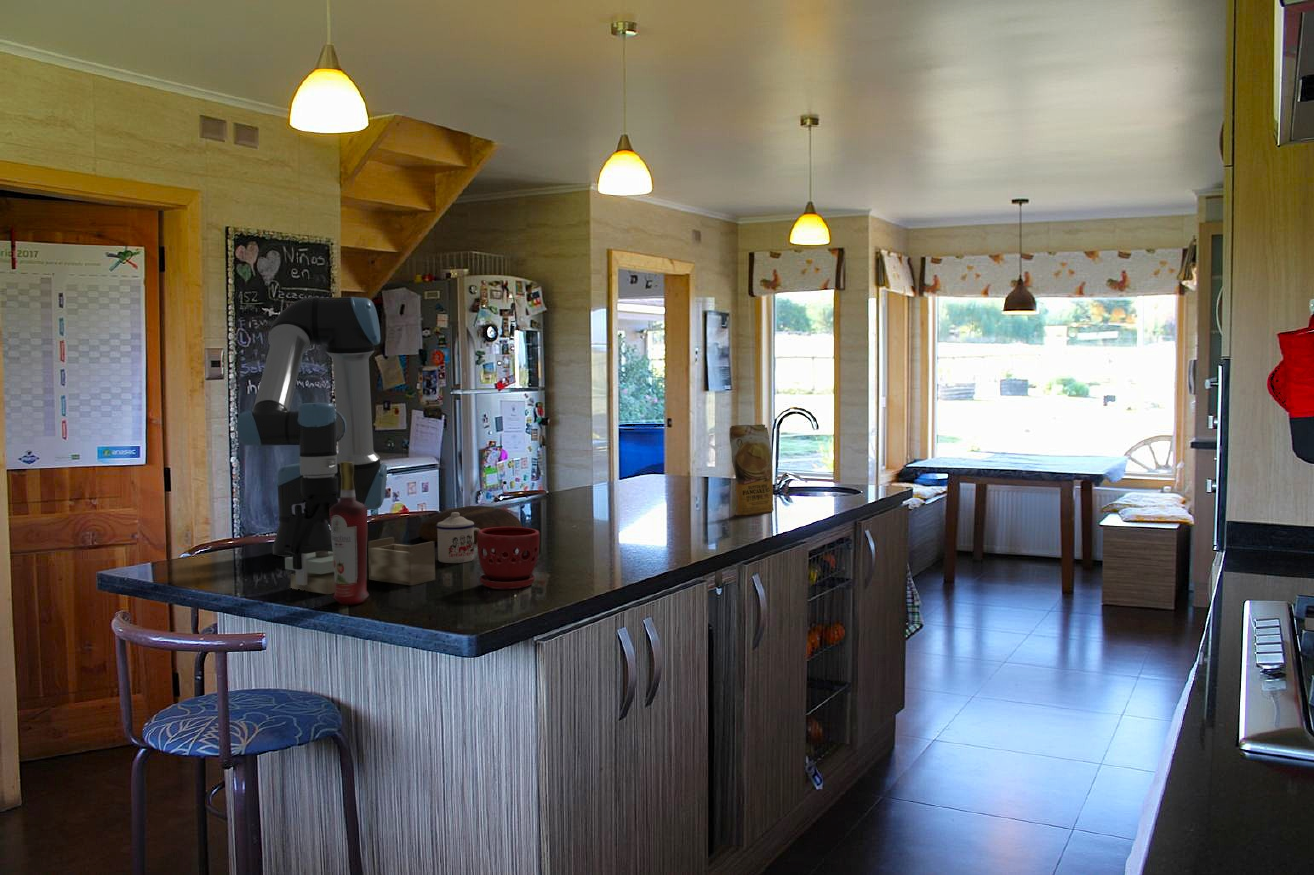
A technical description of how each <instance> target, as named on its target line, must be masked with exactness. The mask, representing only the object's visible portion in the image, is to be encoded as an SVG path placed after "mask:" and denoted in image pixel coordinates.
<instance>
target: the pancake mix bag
mask: <svg viewBox="0 0 1314 875" xmlns="http://www.w3.org/2000/svg"><path fill="white" fill-rule="evenodd" d="M728 433H729V444H730V449H731V463H732V467H733V471H734V474H735V476H734V477H735V492H736V508H735V516H752V515H762V514H768V513H769V514H770V513H773V511H774V486H773V484H774V483H773V482H774V481H773V478H774V476H773V475H774V474H773V473H774V472H773V469H774V466H773V456H772V448H771V442H770V435H769V430H768V427H766V424H762V423H761V424H736V425H731V426H730V427H729V432H728Z"/></svg>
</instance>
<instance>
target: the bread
mask: <svg viewBox="0 0 1314 875" xmlns="http://www.w3.org/2000/svg"><path fill="white" fill-rule="evenodd" d="M453 512H458V513H459V516H461V517H464V518H465V519H467V520H470V521H473V523H474V525H475V526H474V528H479V529H480V530H481V529H484V528H492V527H523V525H522V522H521V520H520V519H519V518H518V517H517V516H515V515H514V514H513V513H511V512H510V511H508V510H506V509H502V508H498V507H492V506H485V505H466V506H461V507H455V508H451V509H449V508H448V509H446V510H443V511H440V512H438V513H436V514H434V515H431V516H430V517H428V518H426V519H425V520H424V521H422V522H421V523H420V525H419V527H418V530H417V532H418V535H419V537H420V538H422V540H425V541H427V542H432V541H434V543H437V544H438V533H437V527H436V526H437V524H438V523H439V522H441V521H444V520H445V519H446V518H448V517H452V516H451V513H453ZM477 537H478V532H477V531H474V545H475V544H476V543H477Z"/></svg>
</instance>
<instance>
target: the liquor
mask: <svg viewBox="0 0 1314 875" xmlns="http://www.w3.org/2000/svg"><path fill="white" fill-rule="evenodd" d="M340 473H341V478H342V479H341V496H340V502H338V503H336V504H334V505H333V506H332V507H331V508H330V509H329V515H330V525H329V528H330V530H331V540H332V550H333V562H334V577H335V593H333V596H332V598H333V599H335V601H337V602H338V603H339V604H340V605H344V606H347V605H348V606H349V605H351V606H352V605H353V606H354V605H358V604H362V603H364V601H365V600H366V599H367V598H368V597H369V596H370V594H369V592H368V590H367V555H368V554H367V551H368V550H367V548H368V510H367V507H366V506H365V505H364V504H363V503H360V502H358V501H356V497H355V489H354V481H353V475H354V462H340Z"/></svg>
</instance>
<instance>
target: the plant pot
mask: <svg viewBox="0 0 1314 875" xmlns="http://www.w3.org/2000/svg"><path fill="white" fill-rule="evenodd" d="M540 536H541V535H540V531H539V530H538V529H535V528H530V527H524V526H522V527H492V528H484V529H481V530H479V531H478V537H477V545H478V547H477V556H478V561H479V564H480V567H481V570H482V573H483V574H482V575H480V577H479V581H480V583H482V585H484V586H485V587H487V588H490V589H492V590H493V589H494V590H517V589H522V588H526V587H528V586H530V585H532V583H534V581H536V576H535V575H534V574H533V571H534V570H535V568H536V565H537V562H538V558H539V551H540ZM484 550H485V553H486V555H484ZM492 550H494V551H492ZM517 550H518V553H516V551H517ZM525 553H526V554H525Z"/></svg>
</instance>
